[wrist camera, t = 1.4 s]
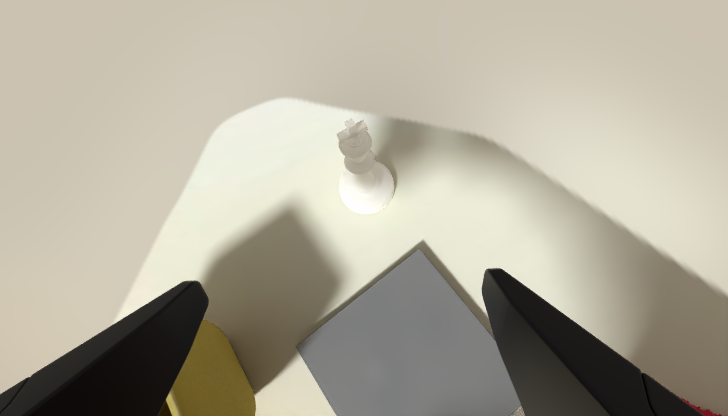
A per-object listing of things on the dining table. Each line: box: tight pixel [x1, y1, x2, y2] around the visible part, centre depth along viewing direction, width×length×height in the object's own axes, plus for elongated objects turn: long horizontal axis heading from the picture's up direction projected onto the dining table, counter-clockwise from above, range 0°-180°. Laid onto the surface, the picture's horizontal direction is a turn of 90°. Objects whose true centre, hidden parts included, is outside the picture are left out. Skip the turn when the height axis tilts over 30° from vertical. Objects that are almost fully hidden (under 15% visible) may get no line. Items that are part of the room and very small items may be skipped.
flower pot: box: [158, 320, 256, 416], centre depth 16 cm, size 9×9×9 cm
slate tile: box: [296, 249, 521, 416], centre depth 19 cm, size 12×12×1 cm
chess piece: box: [337, 119, 395, 214], centre depth 19 cm, size 5×5×10 cm
